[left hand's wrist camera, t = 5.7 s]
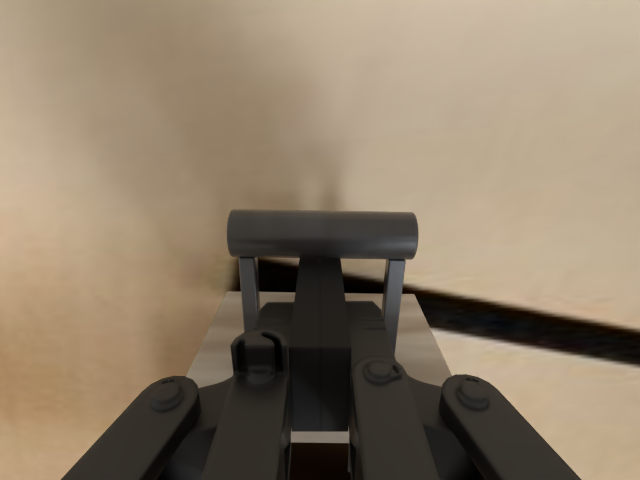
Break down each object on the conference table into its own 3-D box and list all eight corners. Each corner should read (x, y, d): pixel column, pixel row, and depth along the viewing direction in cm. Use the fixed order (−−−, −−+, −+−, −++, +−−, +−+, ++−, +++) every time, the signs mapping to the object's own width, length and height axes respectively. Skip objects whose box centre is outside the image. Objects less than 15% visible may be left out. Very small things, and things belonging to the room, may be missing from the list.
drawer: (216, 180, 17) (132, 246, 9) (428, 183, 17) (513, 252, 9) (248, 520, 26) (219, 686, 19) (384, 522, 26) (408, 688, 19)
